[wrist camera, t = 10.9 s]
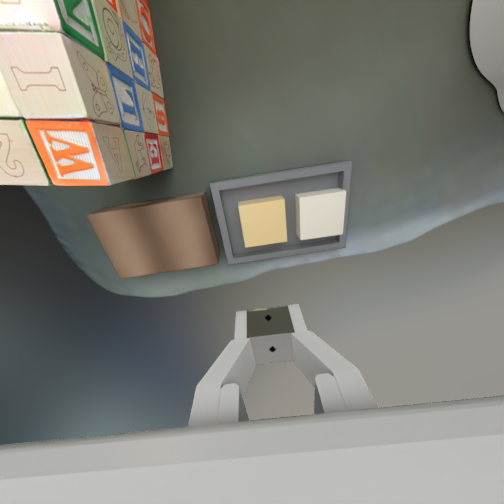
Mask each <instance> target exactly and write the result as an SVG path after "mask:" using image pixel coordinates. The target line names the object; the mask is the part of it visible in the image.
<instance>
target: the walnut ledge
mask: <svg viewBox="0 0 504 504" xmlns="http://www.w3.org/2000/svg"><path fill="white" fill-rule="evenodd" d="M87 217H88V219H89V221H90V223H91V225H92V227H93V228H94V230H95V232H96V234H97V236H98V238H99V239H100V241H101V243H102V245H103V247H104V249H105V251H106V252H107V254H108V256H109V258H110V260H111V262H112V263H113V265H114V267H115V269H116V271H117V273H118V275H119V276H120V278H127V277H134V276H141V275H148V274H154V273H161V272H168V271H175V270H181V269H188V268H195V267H202V266H208V265H215V264H218V261H219V256H220V250H219V246H218V242H217V238H216V234H215V229H214V225H213V221H212V217H211V213H210V209H209V205H208V201H207V197H206V193H205V192H202V193H195V194H189V195H182V196H176V197H170V198H163V199H157V200H150V201H144V202H138V203H131V204H125V205H118V206H112V207H106V208H102V209H100V210H98V211H95V212H93V213H90V214H88V215H87Z"/></svg>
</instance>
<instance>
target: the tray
mask: <svg viewBox="0 0 504 504" xmlns="http://www.w3.org/2000/svg"><path fill="white" fill-rule="evenodd" d="M351 173H352V161H339V162H333V163H326V164H320V165H314V166H307V167H301V168H295V169H288V170H282V171H276V172H269V173H263V174H257V175H250V176H244V177H238V178H231V179H225V180H218V181H212V182H211V183H210V188H211V192H212V196H213V201H214V205H215V210H216V214H217V218H218V223H219V227H220V231H221V236H222V240H223V244H224V249H225V253H226V257H227V262H228V265H230V264H237V263H244V262H251V261H257V260H264V259H271V258H278V257H284V256H291V255H298V254H305V253H311V252H318V251H325V250H332V249H338V248H345V245H346V233H347V221H348V209H349V197H350V185H351ZM333 188H340V189H343V190H345V191H346V201H345V214H344V226H343V234H341V235H334V236H327V237H320V238H313V239H306V240H300V239H299V237H298V236H297V234H296V209H295V194H299V193H306V192H313V191H319V190H326V189H333ZM280 195H281V196H282V197H283V198H284V199H285V214H286V230H287V242H280V243H274V244H267V245H260V246H253V247H246V248H245V243H244V237H243V231H242V225H241V220H240V214H239V208H238V202H241V201H247V200H254V199H260V198H267V197H274V196H280Z"/></svg>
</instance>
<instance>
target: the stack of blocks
mask: <svg viewBox="0 0 504 504" xmlns="http://www.w3.org/2000/svg"><path fill="white" fill-rule="evenodd" d="M171 168H173V163H172V157H171V149H170V142H169V130H168V123H167V116H166V109H165V102H164V95H163V87H162V80H161V74H160V67H159V61H158V58H157V56H156V48H155V43H154V37H153V29H152V23H151V16H150V10H149V8H148V1H147V0H0V185H39V186H50V185H62V186H109V185H114V184H117V183H121V182H124V181H128V180H135V179H139V178H142V177H144V176H148V175H151V174H153V173H157V172H160V171H162V170H168V169H171Z"/></svg>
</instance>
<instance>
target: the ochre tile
mask: <svg viewBox="0 0 504 504" xmlns="http://www.w3.org/2000/svg"><path fill="white" fill-rule="evenodd" d="M238 208H239V214H240V220H241V225H242V231H243V237H244V243H245V248H246V247H253V246H260V245H267V244H274V243H280V242H287V230H286V214H285V199H284V198H283V197H282V196H281V195H280V196H274V197H267V198H260V199H254V200H247V201H241V202H238Z"/></svg>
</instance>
